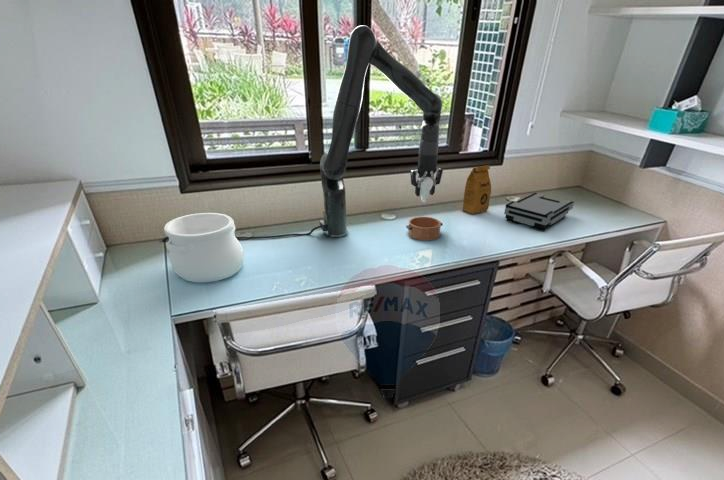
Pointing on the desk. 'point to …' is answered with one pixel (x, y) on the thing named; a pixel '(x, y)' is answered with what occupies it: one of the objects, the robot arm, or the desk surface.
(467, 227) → the desk surface
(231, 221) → the pot
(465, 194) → the coffee package
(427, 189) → the lightbulb
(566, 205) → the game console
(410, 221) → the copper pot
